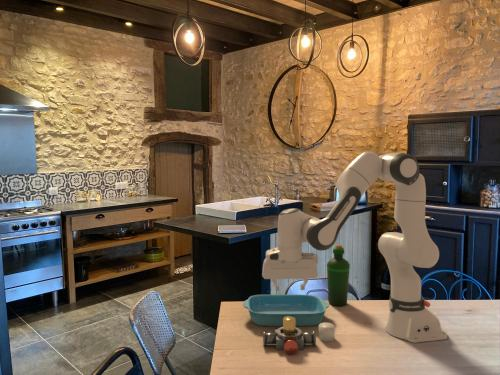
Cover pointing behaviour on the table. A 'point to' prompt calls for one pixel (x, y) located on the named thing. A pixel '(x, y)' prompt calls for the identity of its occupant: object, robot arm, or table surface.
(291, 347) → the valve body
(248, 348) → the table surface
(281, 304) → the casserole dish
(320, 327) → the cream pebble-shaped knob
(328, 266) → the bottle
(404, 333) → the robot arm
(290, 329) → the brass coupling
